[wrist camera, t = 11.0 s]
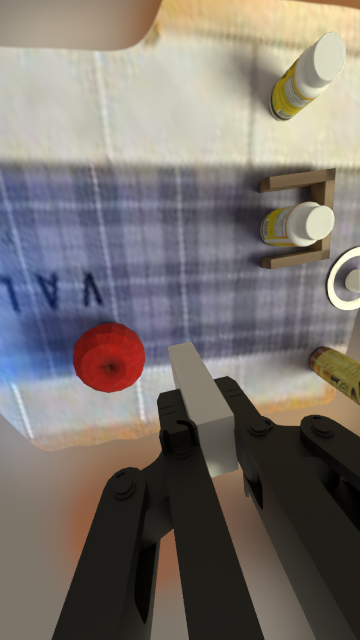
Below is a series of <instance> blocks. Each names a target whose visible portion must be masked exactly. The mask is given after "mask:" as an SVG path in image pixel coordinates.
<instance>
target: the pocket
mask: <svg viewBox="0 0 360 640" xmlns="http://www.w3.org/2000/svg"><path fill="white" fill-rule="evenodd" d="M335 171H336V168H334V169H326V170H318V171H311V172H303V173H295V174H288V175H280V176H272V177H269V178H267V179H265V180H263V181H261V182H259V193H264V192H271V191H278V190H285V189H293V188H300V187H307V186H311V202H315V203H317V204H319V205H320V206H327V207H329V208H330V209H331V210H332V212H333V199H334V185H335ZM330 241H331V232H330V233H329V234H328V235H327V236H326V237H324V238H323V239H320V240H317V241H316V242H315V243H313V244H311V245H309V250H307V251H301V252H296V253H290V254H284V255H279V256H273V257H268V258H262V259H261V268H267V269H275V268H281V267H286V266H292V265H297V264H302V263H308V262H313V261H318V260H324V259H329V255H330Z"/></svg>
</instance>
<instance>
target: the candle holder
mask: <svg viewBox="0 0 360 640" xmlns="http://www.w3.org/2000/svg"><path fill="white" fill-rule="evenodd" d="M354 256H360V247H357V248H354V249H352V250H350V251H348V252H347V253H345V254H344V255H343V256H342V257H341V258H340V259H339V260H338V261H337V263H336V264H335V265H334V267H333V268H332V270H331V273H330V276H329V279H328V295H329V298H330V300H331V302H332V303H333V304H334V305H335V306H336V307H337V308H339V309H342V310H352V309H356V308H358V307H360V298H358V299H356V300H354V301H350V302H346V301H342V300H340V299H339V298H338V297H337V296H336V295H335V292H334V288H333V283H334V278H335V275H336V273H337V271H338V269H339V268H340V266H341V265H342V264H343V263H344V262H345V261H346V260H348V259H349V258H351V257H354ZM345 286H346V288H347V289H348V290H350V291H354V292H358V293H360V269H356V270H353V271H351V272H350V273H349V274H348V276H347V278H346V281H345Z"/></svg>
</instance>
